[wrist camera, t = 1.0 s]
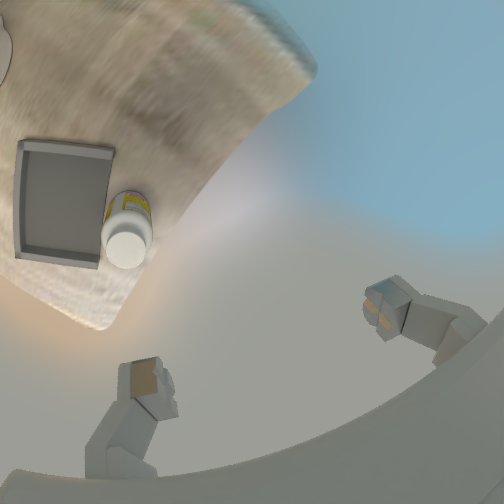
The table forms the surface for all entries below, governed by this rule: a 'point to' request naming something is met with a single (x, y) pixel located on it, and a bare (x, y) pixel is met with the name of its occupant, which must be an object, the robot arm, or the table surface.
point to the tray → (60, 201)
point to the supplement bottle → (127, 230)
